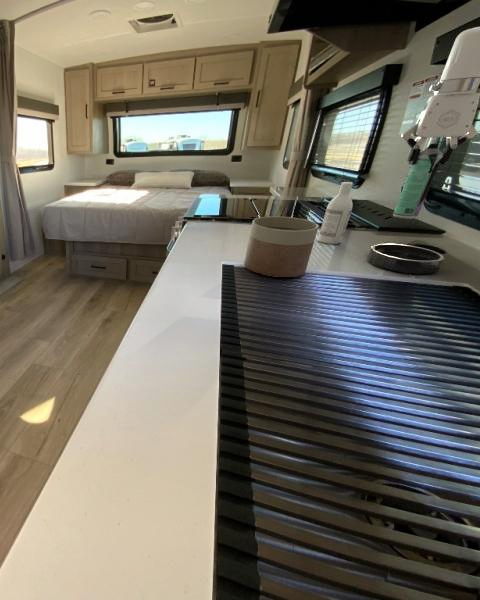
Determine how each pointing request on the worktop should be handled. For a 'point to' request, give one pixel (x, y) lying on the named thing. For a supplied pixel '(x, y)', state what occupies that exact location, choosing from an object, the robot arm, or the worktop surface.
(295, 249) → the planter
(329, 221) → the bath foam
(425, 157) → the spray can
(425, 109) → the robot arm
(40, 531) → the worktop surface
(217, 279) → the worktop surface
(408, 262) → the pan
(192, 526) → the worktop surface
